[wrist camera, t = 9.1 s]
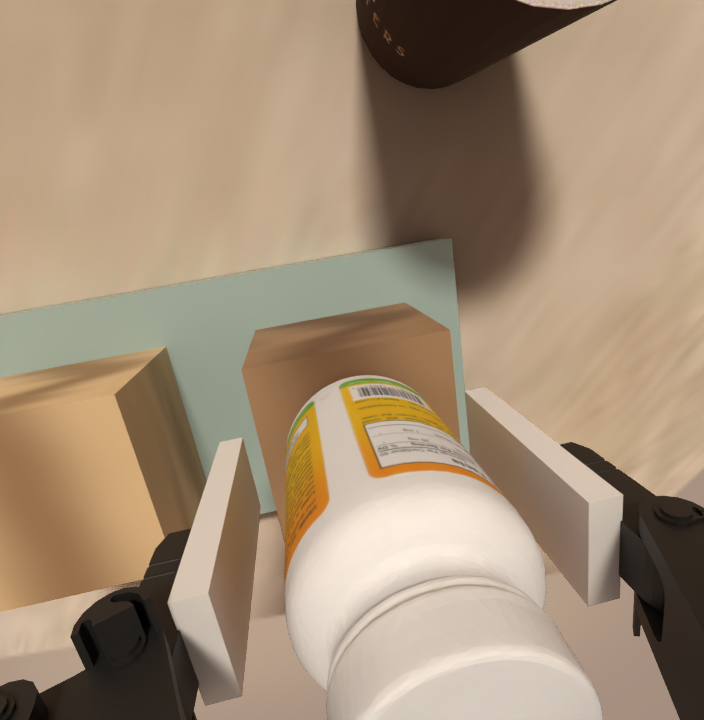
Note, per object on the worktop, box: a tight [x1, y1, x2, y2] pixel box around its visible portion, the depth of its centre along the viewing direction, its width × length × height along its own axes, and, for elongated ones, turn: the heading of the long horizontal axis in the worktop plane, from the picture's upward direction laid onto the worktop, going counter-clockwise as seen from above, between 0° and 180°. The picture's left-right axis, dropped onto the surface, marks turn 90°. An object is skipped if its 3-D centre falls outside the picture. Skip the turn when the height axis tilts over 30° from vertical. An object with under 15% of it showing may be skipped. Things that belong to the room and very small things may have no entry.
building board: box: [0, 238, 470, 528], centre depth 21 cm, size 22×12×2 cm, turn 99°
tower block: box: [241, 302, 461, 542], centre depth 18 cm, size 7×7×6 cm
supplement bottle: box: [284, 375, 603, 720], centre depth 11 cm, size 5×5×10 cm
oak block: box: [0, 347, 207, 612], centre depth 17 cm, size 7×7×6 cm
